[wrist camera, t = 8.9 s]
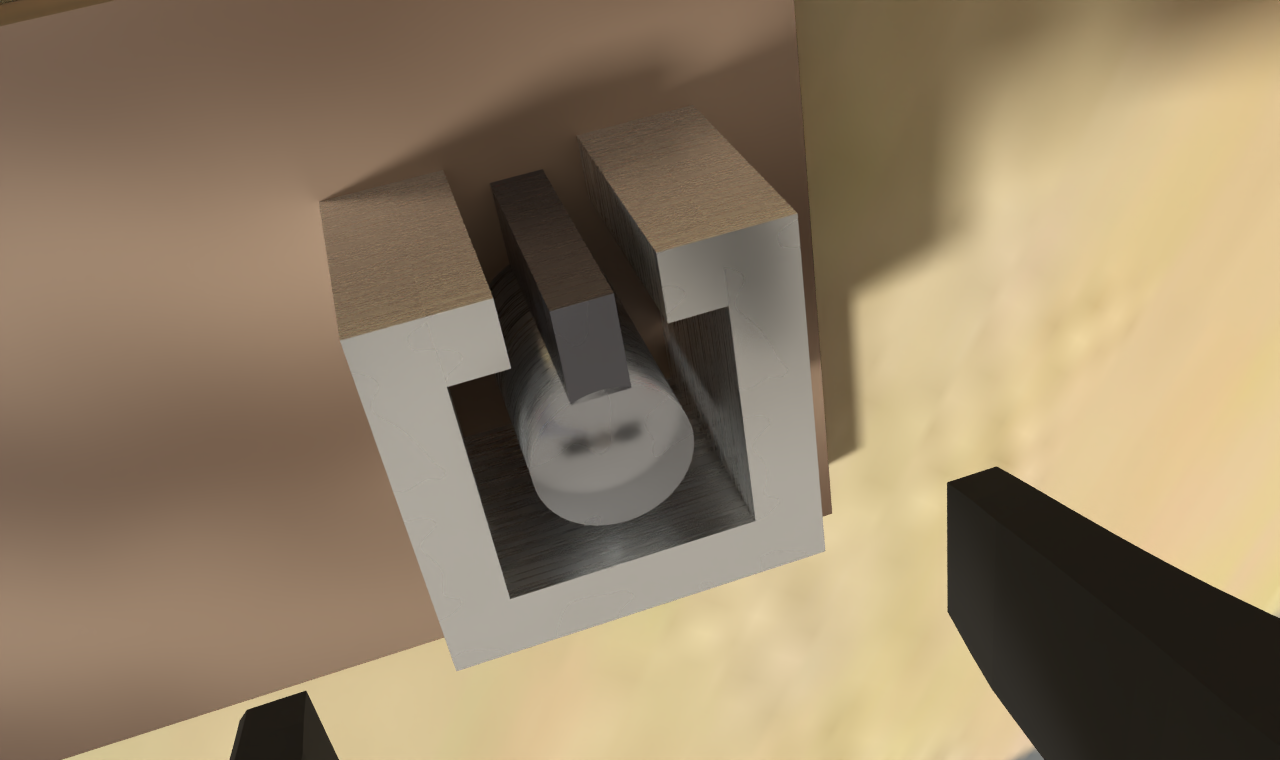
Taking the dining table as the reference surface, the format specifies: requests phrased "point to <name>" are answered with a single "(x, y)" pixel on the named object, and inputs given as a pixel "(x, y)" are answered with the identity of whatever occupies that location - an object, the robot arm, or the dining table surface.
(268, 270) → the base board
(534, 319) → the tabbed grey cylinder
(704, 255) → the grey slotted block
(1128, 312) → the dining table surface
